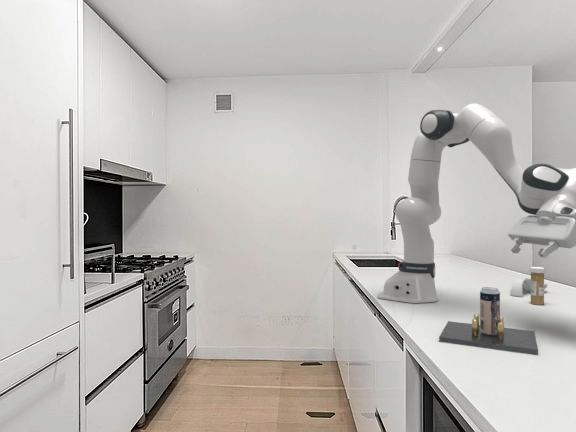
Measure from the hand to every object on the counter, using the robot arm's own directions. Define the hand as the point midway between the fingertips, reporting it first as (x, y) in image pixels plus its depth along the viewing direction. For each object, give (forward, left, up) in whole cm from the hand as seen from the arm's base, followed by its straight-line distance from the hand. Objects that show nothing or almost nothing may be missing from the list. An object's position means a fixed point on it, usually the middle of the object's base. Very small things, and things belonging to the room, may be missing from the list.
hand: (527, 253), depth 117 cm
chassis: (-9, -10, -22) cm, 26 cm away
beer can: (-9, -10, -21) cm, 25 cm away
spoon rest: (+2, +69, -22) cm, 72 cm away
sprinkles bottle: (+5, +46, -22) cm, 51 cm away
